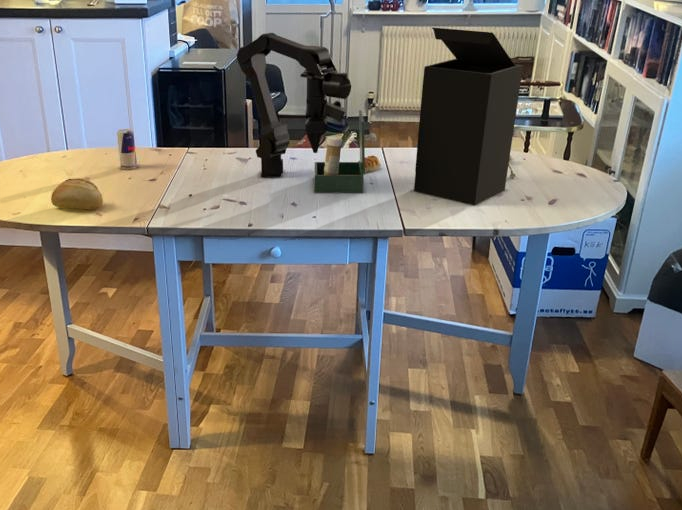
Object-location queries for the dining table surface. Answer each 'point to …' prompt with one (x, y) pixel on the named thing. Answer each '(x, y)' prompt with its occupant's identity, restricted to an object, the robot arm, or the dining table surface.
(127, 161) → the energy drink
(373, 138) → the lid
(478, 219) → the dining table surface
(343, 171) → the caddy
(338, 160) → the sprinkles bottle
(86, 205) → the bread roll
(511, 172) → the soupspoon
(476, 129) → the trash bin
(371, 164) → the pastry
